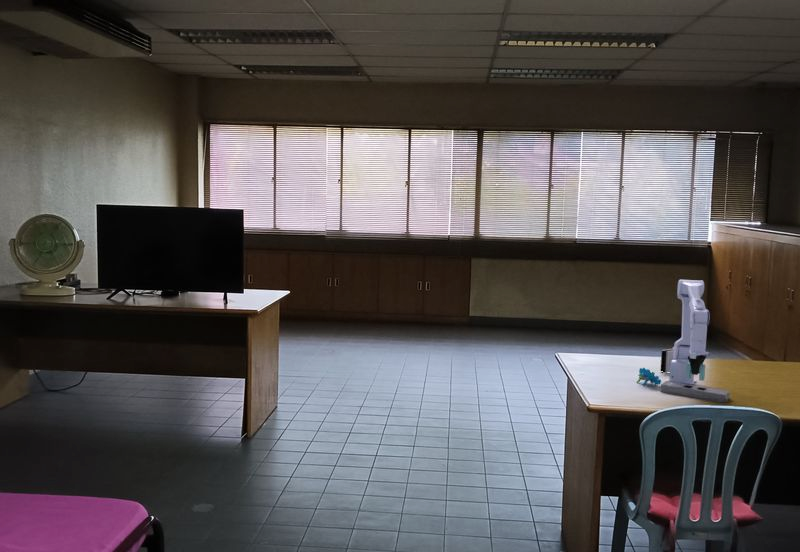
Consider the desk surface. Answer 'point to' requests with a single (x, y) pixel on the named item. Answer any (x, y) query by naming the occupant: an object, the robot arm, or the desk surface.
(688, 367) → the upright aqua box
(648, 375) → the blue lumpy piece
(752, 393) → the desk surface
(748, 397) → the desk surface
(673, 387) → the grey board with slots
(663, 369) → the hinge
